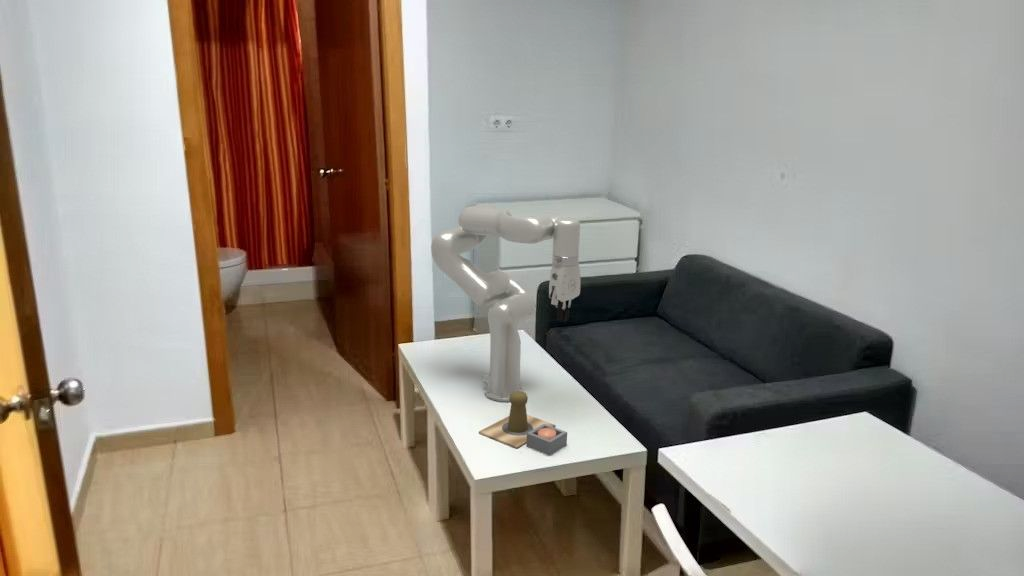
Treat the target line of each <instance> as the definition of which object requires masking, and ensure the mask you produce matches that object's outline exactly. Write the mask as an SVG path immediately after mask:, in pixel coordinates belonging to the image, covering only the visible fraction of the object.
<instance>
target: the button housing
mask: <svg viewBox="0 0 1024 576" xmlns="http://www.w3.org/2000/svg"><path fill="white" fill-rule="evenodd" d="M542 428H551V429H554V430H555V431H556V436H555V437H553V438H552V439H550V440H548V439H546V438H543V437H541V436H538V431H539V430H540V429H542ZM567 444H568V432H567V431H566V430H562V429H561V428H557V427H556V426H555V427H552V426H549V425H547V424H543V425H541V426H539V427H537V428H535V429H534V430H532V431H530V432H528V433H527V442H526V444H525V445H526V447H527V448H529V449H533V450H534V451H537V452H538V453H539V452H540V453H542V454H543V455H547V456H553V454H555V453H556V452H558V451H560V450H561V449H563V448H564V447H567Z"/></svg>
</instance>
